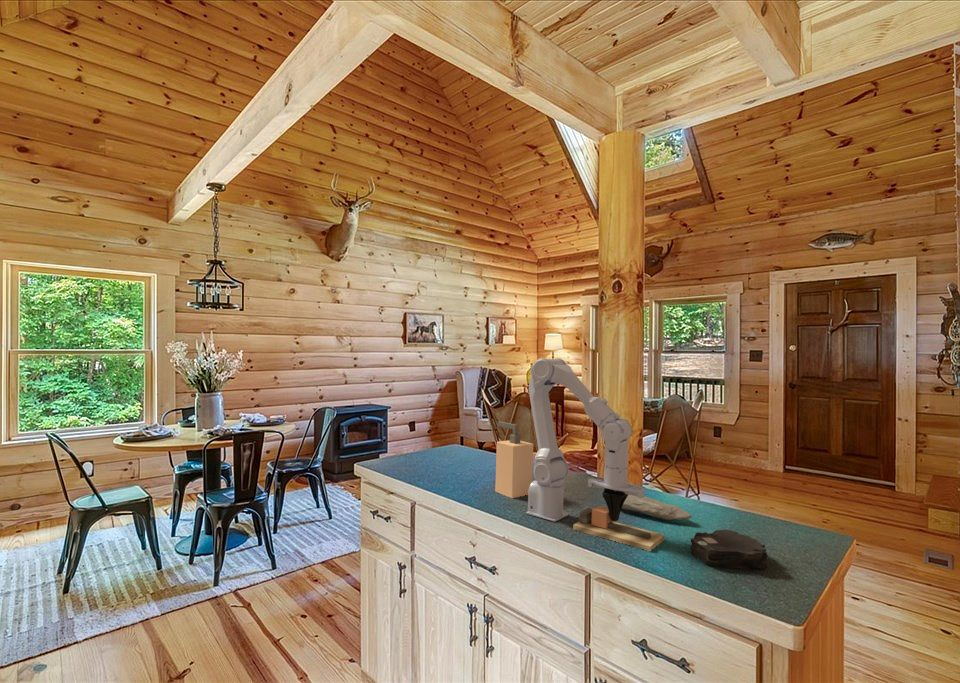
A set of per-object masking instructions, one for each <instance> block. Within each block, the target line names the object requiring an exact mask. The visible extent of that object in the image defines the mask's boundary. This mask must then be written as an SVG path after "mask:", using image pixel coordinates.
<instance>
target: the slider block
mask: <svg viewBox="0 0 960 683" xmlns="http://www.w3.org/2000/svg"><path fill="white" fill-rule="evenodd" d="M610 522H611V523H614V522H615V521H611V519H610V514H609V510H608V507H607V506H604V505H598V506H596V507H594V508H592V525H595V526H598V527H602V528H605V529H606V528H608V523H610Z"/></svg>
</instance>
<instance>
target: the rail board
mask: <svg viewBox="0 0 960 683" xmlns="http://www.w3.org/2000/svg"><path fill="white" fill-rule="evenodd" d="M592 509H593V508H592V507H587V508H585V509H583V510H581V511H579V520H578V522H576V523H574V524H573V526H572V529H573V530H574V531H578V532H579V533H580V532H581V533H585V534H588V535H591V536H594V537H597V536H598V537H599V538H602V539H604V538H605V540H608V539H609V541H611V540H612V542H615V541H616V542H615V543H618V542H619V543H620V544H622V543H623V544H622V545H625V544H627V545H626V546H628V545H631V546H630V547H632V546H634V547H633V548H635V547H638V548H637V549H639V548H641V549H640V550H642V549H644V550H643V551H646V550H647V551H646V552H649V551H651V550H652V549H653V550H655V549H656V548H657V547H658V546H659V545H660V544H662V543H663V542H664V541H665V538H666V537H665V534H663V533H659V532H655V531H651V530H649V529H645V528H639V527H636V526H632V525H629V524H624V523H621V522H617V521H616V522H615V521H614V523H611V522H610V523H608V528H606V529H605V528H602V527H598V526H595V525H592ZM656 546H657V547H656ZM653 550H652V551H653ZM652 551H651V552H652Z"/></svg>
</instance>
